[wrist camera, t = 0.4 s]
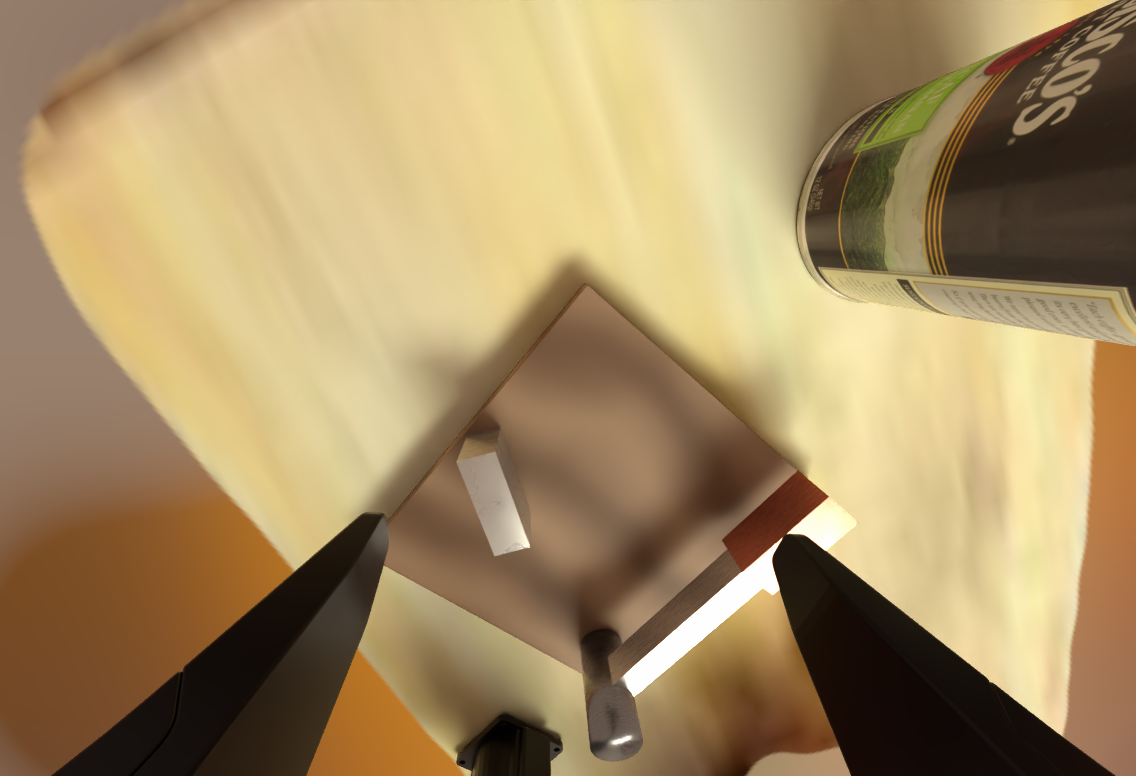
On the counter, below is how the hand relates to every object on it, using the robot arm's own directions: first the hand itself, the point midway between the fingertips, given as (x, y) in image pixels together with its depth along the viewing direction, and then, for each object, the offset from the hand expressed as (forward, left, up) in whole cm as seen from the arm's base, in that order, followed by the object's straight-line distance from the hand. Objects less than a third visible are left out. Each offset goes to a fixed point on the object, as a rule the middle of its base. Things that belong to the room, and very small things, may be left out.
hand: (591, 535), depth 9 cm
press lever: (-6, -15, -13) cm, 21 cm away
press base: (-6, -8, -15) cm, 18 cm away
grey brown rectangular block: (-7, -1, -13) cm, 15 cm away
